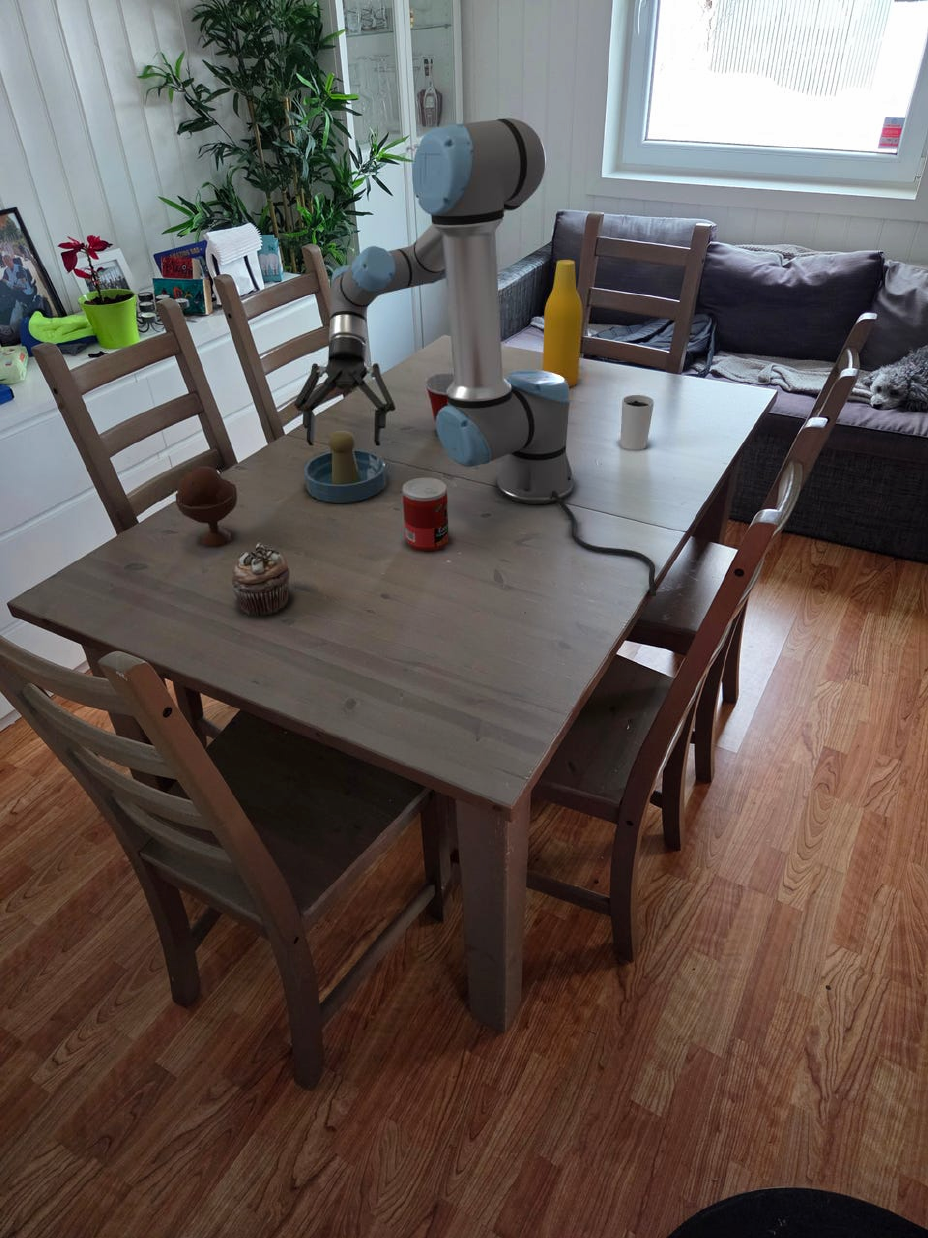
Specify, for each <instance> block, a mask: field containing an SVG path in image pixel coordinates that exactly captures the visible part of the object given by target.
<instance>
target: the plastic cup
mask: <svg viewBox="0 0 928 1238" xmlns="http://www.w3.org/2000/svg"><path fill="white" fill-rule="evenodd" d="M453 382H454V372H439V373H434V374H432V375H429V376H428V377H426V379H425V380H424V386H425V389H426V390H427V394H428V398H429V401H430V405H431V409H432V415H433V419H434V422H435V424H436V417H437V415H438V413H439V411H440V410H441V409H442V408H443V407H445V406H448V402H447V389H448V387H449V386H450V385H451V384H452V383H453Z"/></svg>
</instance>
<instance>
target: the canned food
mask: <svg viewBox="0 0 928 1238" xmlns="http://www.w3.org/2000/svg"><path fill="white" fill-rule="evenodd" d="M447 486H448V485H447V484H446V483H445V482H444V481H442V480H440V479H438V478H433V477H418V478H413V479H410V480H408V481H407V482H405V483H404V484H403V485H402V506H403V519H404V531H405V540H406V543H407V544H408V545H409V546H410V547H411V548H413V549H415V550H418V551H421V552H422V551H423V552H430V551H436V550H440V549H442V548H444V547H445V546H446V545H447V544H448V540H449V538H450V537H449V536H450V535H449V503H448V501H449V500H448V499H449V498H448V487H447Z"/></svg>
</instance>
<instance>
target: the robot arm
mask: <svg viewBox="0 0 928 1238" xmlns="http://www.w3.org/2000/svg"><path fill="white" fill-rule="evenodd" d="M546 166H547V157H546V150H545V148H544V143H543V141H542V140H541V137H540V135H539V134H538V132H537V131H536V130H535V129H534V128H532V126H530V124H528V123H526V122H524V121H522V120H520V119H515V118H513V117H505V118H497V119H489V120H482V121H472V122H464V123H463V122H462V123H456V122H454V123H452V124H448V125H445V126H439V127H437V128H433V129H431V130H430V131H428V132H427V133H426V134H425V135H424V136H423V137H422V138H421V140H420V142H419V145H418V146H417V148H416V150H415V153H414V156H413V162H412V169H411V170H412V172H411V173H412V175H411V176H412V177H411V178H412V179H411V181H412V188H413V192H414V195H415V198H416V199H418V200H417V202H418V206H420V208H421V209H422V210H423V211H424V212H425V213H426V214H429V215H430V216H431V225H430V226H428V228H427V229H426V230H425V231H424V232H423V233H422V234H421V236H419V237H418V238H417V240H415V241H414V243H412V244H411V245H409V246H405V247H400V248H396V249H392V250H387V249H385V248H382V247H379V246H377V245H371V246H368V247H366V248H364V249H363V250H362V251H361V252H360V253H359V254H358V255H356V257H355V258H354V259H353V260H352V263H351V264H345V265H341V267H337V268H335V269H334V271H333V273H332V275H331V282H330V307H329V309H330V310H329V312H330V313H329V331H328V340H329V342H328V354H327V364H326V365H325V366H323V365H319V364H318V363H317V362H314V363H312V366H311V370H310V373H309V375H308V378H307V379H306V381H305V383H304V385H303V386H302V388H301V390H300V392H299V394H298V395H297V397H296V398H295V401H294V404H293V405H294V407H295V409H296V410H297V411H298V412H302V426H303V428H304V429H306V442H307V444H308V445H309V446H314V443H315V441H314V440H315V422H316V421H315V417H316V415H315V413H314V410H315V409H317V407H318V406H319V405H320V404H321V403H322V401H324V399H325V398H326V397H327V396H328V395H329V394H330V393H331V392H334V390H335V389H337V388H338V389H340V390H343V389H351V390H354V389H355V388H357V387H358V388H359V389H360V390H361V391H362V392H363V393H364V395H365V396H366V398H367V399H369V401H370V402H371V403H372V404H373V406H374V407H375V408H376V409H375V410H374V434H373V435H374V436H373V442H374V445H375V446H378V447H380V446H381V429H386V427H387V413H389V412H394V411H395V410H396V405H395V403H394V400H393V398H392V396H391V394H390V392H389V390H388V388H387V385H386V383H385V382H384V379H383V378H382V371H381V368H380V365H379V363H377V362H376V363H374V364H372V365H370V366H369V365H366V355H367V354H366V353H367V347H366V343H367V325H368V308H369V306H370V305H371V304H372V303H373V302H374V301H375V300H376V299H377V298H378V297H379V296H381V295H385V294H390V293H394V292H398V291H402V290H407V289H410V288H415V287H419V286H424V285H430V284H435V283H437V282H439V281H443V280H445V285H446V294H447V295H446V296H447V297H446V298H447V308H448V321H449V323H448V324H449V335H450V346H451V355H452V356H451V358H452V370H453V371H452V373H454V382H453V383H452V384H451V385H450V386H449V387H448V389H447V402H448V406H445V407H443V408H442V409H441V410H440V411H439V413H438V415H437V417H436V423H435V428H436V433H437V436H438V439H439V442H440V444H441V446H442V448H443V449H444V450H445V452H446V453H447V455H448V456H449V457H450V459H452V460H453V462H455V463H457V465H460V466H462V467H466V468H473V467H474V468H475V467H476V466H477V467H478V466H480V465H486V464H489V463H490V462H491V461H495V460H497V459H499V458H503V460H502V463H501V466H500V469H499V471H498V474H497V479H496V480H497V481H496V482H497V490H498V492H499V493H500V494H501V495H502V496H503V497H505V498H507V499H508V500H511V501H514V502H517V503H521V504H526V505H546V504H552V503H556V502H557V503H558V505H559V506H560V507H561V508H562V510H563V511H564V512H565V514H566V515H567V516H568V517H569V519H570V522H571V535H572V539H573V540H574V542H575V543H577V545H579V547H582V548H584V549H586V550H589V551H591V552H597V553H603V554H611V555H622V556H629V557H633V558H636V559H639V560H640V561H642V562H644V563H645V564H646V565H647V566H648V567H649V571H648V589H649V595H650V596H651V597H656V596H657V592H656V584H655V576H656V564H655V563H654V562H653V561H652V559H650V558H649V557H648V556H646V555H645V554H643V553H641V552H638V551H635V550H632V549H626V548H618V547H617V548H616V547H615V548H614V547H606V546H597V545H594V544H590V543H588V542H586V541H583V539H581V538H580V537H579V534H578V521H577V518H576V516H575V515H574V513H573V511H572V510H571V509H570V507H568V506H567V503H565V502H564V501H563V499H566V498H567V497H568V496H569V495H571V493H573V489H574V475H573V472H572V468H571V464H570V461H569V457H568V454H567V442H568V441H567V440H568V425H569V411H570V402H571V400H570V387H569V385H568V383H567V381H566V380H565V379H564V378H562V377H561V376H559V375H556V374H554V373H550V372H546V371H542V370H539V369H518V370H514V371H511V372H510V373H509V374H508V376H507V379H505V378H504V376H503V361H502V341H501V340H502V339H501V322H500V321H501V317H500V302H499V301H500V299H499V278H498V260H497V259H498V258H497V257H498V256H497V239H496V238H497V237H496V236H497V235H496V231H497V229H498V227H499V226H500V225H501V223H502V222H503V221H504V220H505V213H506V212H509V211H511V212H512V211H515V210H517V209H518V208H520V207H521V206H522V205H524V203H525V202H526V201H528V200H529V199H530V198H531V197H532V196H533V195H534V194H535V192H536V191H537V190H538V188H539V187H540V186H541V184H542V181H543V178H544V176H545V172H546ZM324 374H326V376H327V377H326V378H325V379H324V381H323V383H322V384H321V385H320V387H318V389H317V390H316V391H315V392H314V390H315V388H316V387H317V385H318V382H319V380H320V378H323V376H324ZM368 374H369V375H370V377H371V378H374V380H375V382H376V384H377V387H378V388H379V391H380V393H381V394H382V396H383V398H384V400H385V402H386V403H383V402H382V400H381V399H380V398H379V397H378V395H377V394H376V393H375V392H374V391H373V389H371V387H370V386H369V385H368V384H367V382H365V380H364V378H365V377H366V376H367V375H368ZM313 392H314V393H313ZM312 393H313V394H312Z"/></svg>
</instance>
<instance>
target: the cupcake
mask: <svg viewBox="0 0 928 1238" xmlns="http://www.w3.org/2000/svg"><path fill="white" fill-rule="evenodd" d="M229 580H230V581H229V585H230V588H231V590H232V592H233V594H234V595H235V597H236V600H237V602H238V604H239V606H240V608H241V609H242V611H243V612H244V613H246V614H248V615H252V616H257V617H258V616H260V617H261V616H267V615H272V614H275V613H277V612H278V611H280V610H281V609H283V608H284V607H285V606H286V605H287V604H288V601H289V588H290V568H289V562H288V560H287V559H286V558H285V557H284V556H283V555H282V554H280V552H279V551H278V550H277V549H275V548H272V547H270V546H266V545H265V544H264V543H263V542H258V543H257V544H256V546H255V550H249V549H246V550H245V553H244V554H243V555H242V556H241V557H240V558H239V559H238V562H237V563H236V564H235V565H234V566H233V568H232V576H231V578H230V579H229Z"/></svg>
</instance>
